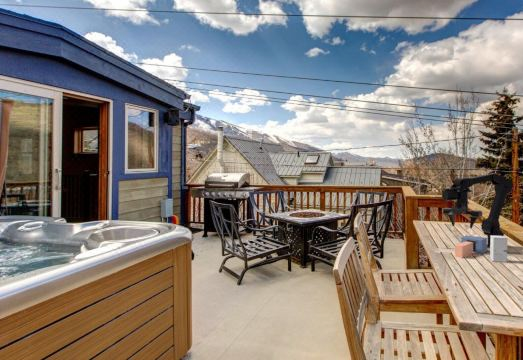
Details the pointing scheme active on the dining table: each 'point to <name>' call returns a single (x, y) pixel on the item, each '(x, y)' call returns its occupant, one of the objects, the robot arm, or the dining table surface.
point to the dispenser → (476, 243)
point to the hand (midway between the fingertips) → (462, 227)
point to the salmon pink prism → (464, 249)
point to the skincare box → (498, 248)
